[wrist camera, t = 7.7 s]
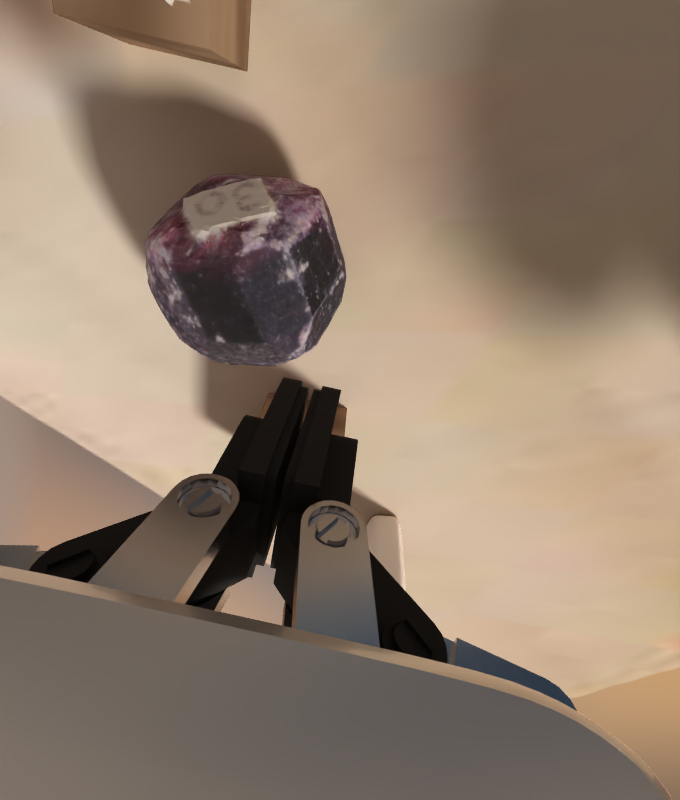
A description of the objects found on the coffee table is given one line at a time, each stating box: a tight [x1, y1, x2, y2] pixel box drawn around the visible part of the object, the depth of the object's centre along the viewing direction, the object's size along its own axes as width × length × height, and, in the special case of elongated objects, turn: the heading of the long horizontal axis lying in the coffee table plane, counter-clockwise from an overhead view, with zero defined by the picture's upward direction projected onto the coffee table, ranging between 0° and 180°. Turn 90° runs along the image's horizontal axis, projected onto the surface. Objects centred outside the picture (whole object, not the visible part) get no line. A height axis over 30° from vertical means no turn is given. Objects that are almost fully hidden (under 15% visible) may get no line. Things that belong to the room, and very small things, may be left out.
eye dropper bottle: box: [366, 515, 406, 591], centre depth 34 cm, size 4×6×12 cm
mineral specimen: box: [145, 175, 346, 366], centre depth 22 cm, size 10×10×10 cm
